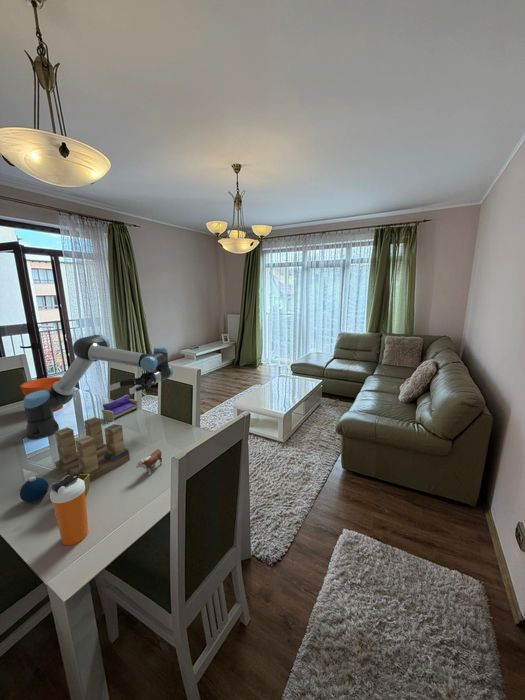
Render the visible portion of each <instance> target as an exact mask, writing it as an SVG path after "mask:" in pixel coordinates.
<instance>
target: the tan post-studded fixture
mask: <svg viewBox="0 0 525 700" xmlns="http://www.w3.org/2000/svg"><path fill="white" fill-rule="evenodd" d="M101 420H102V419H101V418H99V417H96V416H94V417H91V418H88V419H85V420H83V425H84V429H85V430H84V431H85V436H83V437H80V438H78V439H75V434H74V433H75V432H74V429H72V428H70V427H68V426H67V427H64V428H61V429H59V430H58V431H56V432H55V433H54V436H55V441H56V447H57V453H58V458H59V459H58V460H56V461H54V465H55V468H56V469H57V470H59V471H60V472H63V473H64V474H66V475H72V474H90V482H89V484H91V483H92V482H93V481H95V480H97V479H99V478H100V477H102V476H103V475H104V476H105V475H106V474H108V473H109V472H111V471H113V470H114V469H116V468H119V467H120V466H121V465H123V464H125V463H127V462H128V461H131V456H130V450H129V449H128V448H125V451H124V452H122V453H120V454H118V455H116V456H114V457H113V456H111V455H109V454H108V453H107V445H106V443H104V435H103V427H102V421H101Z"/></svg>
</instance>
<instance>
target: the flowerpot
mask: <svg viewBox="0 0 525 700" xmlns="http://www.w3.org/2000/svg"><path fill="white" fill-rule="evenodd" d="M61 378H62V376H52V377H51V376H50V377H42V378H37V379H32V380H29V381H25V382H23V383H22V384H20V385H19V387H20V389H21V391H22V393H23V395H24V397H25V396H27V395H28V394H30V393H33V392H36V391H41V390H46V391H48V390H49V389H50V388H51V386H52V385H53V384H54V383H55V382H57V381H59V380H60V379H61ZM62 408H64V405H62V406H60V407H58V408H56V409H54V410H52V411H53V413H54V412H57V411H59V410H61V409H62Z"/></svg>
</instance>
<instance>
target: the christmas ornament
mask: <svg viewBox="0 0 525 700" xmlns="http://www.w3.org/2000/svg"><path fill="white" fill-rule="evenodd" d="M48 491H49V482H48V480H46V479H45V478H42V477H36V476H35V475H32V476H30V477H29V478H28V480H27V481H26V482H24V484H23V485H22V486H21V488H20V491H19V497H20V499H21V500H22V501H23V502H25V503H35V502H38V501H40V500H41V499H43V498H44V497H45V496H46V495H47V493H48Z"/></svg>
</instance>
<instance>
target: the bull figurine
mask: <svg viewBox="0 0 525 700" xmlns="http://www.w3.org/2000/svg"><path fill="white" fill-rule="evenodd" d="M158 461H159V466H162V465H163V457H162V451H161V450H160V449H156V450H155V451H153V452H152V453H151V454H149V455H148V456H146V457H144V458H143V459H141V458H140V459H139V460H138V461H137V464H136V465H135V468H137V469H138V468H142V469H144V470H146V471H145V473H146V474H148V476H149V477H150V476H151V475H152V472H151V471H152V468H155V466H156V463H157V462H158Z"/></svg>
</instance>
